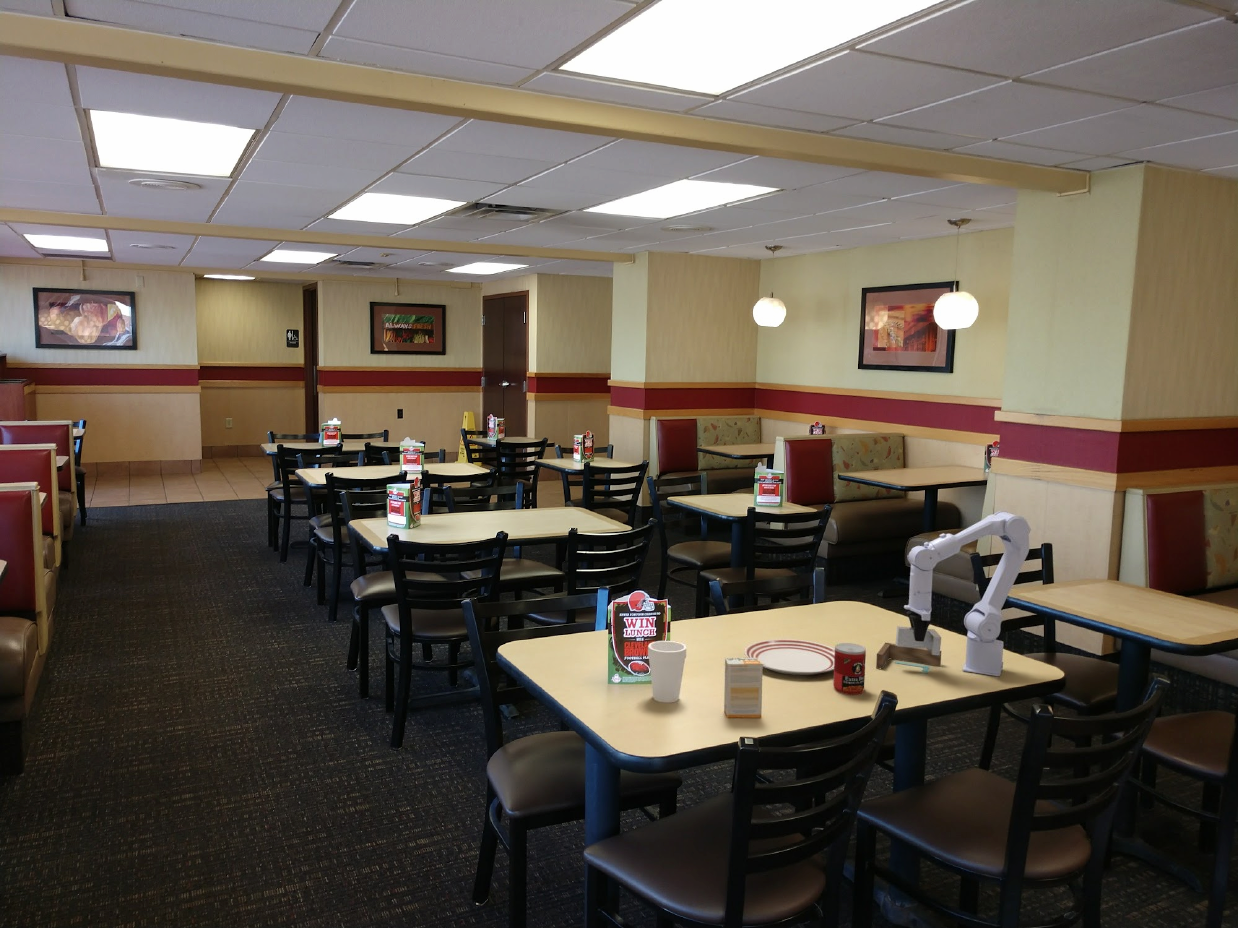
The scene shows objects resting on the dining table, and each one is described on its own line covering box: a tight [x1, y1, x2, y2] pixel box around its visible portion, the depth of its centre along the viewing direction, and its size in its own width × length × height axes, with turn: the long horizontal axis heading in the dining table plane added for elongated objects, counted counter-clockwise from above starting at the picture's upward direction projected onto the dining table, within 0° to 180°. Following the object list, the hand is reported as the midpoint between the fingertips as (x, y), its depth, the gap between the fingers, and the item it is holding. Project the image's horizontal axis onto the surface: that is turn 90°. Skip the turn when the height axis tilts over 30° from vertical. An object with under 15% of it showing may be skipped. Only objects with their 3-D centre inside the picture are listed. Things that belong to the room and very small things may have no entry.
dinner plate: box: [744, 638, 835, 676], centre depth 247 cm, size 27×27×3 cm
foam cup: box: [647, 640, 687, 704], centre depth 219 cm, size 10×9×13 cm
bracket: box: [894, 626, 942, 655], centre depth 241 cm, size 10×7×5 cm
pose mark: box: [894, 660, 931, 675], centre depth 246 cm, size 9×7×1 cm
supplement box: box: [723, 657, 764, 719], centre depth 209 cm, size 8×5×13 cm, turn 92°
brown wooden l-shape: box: [875, 642, 942, 670], centre depth 247 cm, size 15×12×4 cm
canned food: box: [833, 642, 867, 695], centre depth 227 cm, size 8×8×11 cm
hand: (918, 639), depth 244 cm, fingers closed on bracket
